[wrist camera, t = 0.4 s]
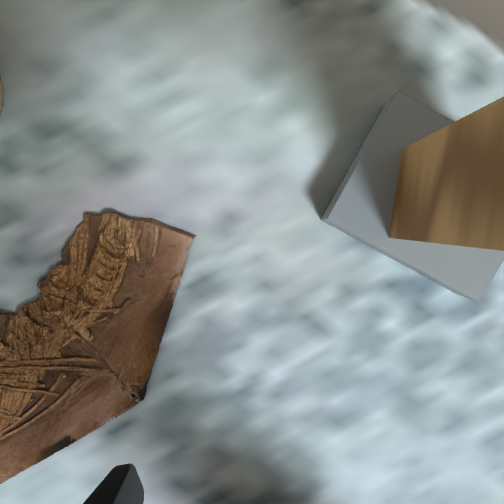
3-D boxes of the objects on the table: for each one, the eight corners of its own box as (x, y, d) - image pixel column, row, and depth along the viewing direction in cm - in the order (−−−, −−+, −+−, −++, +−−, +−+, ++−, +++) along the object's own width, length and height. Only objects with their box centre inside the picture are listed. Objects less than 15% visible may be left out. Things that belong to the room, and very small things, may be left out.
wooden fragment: (129, 170, 21) (122, 167, 20) (251, 289, 22) (251, 293, 21) (-120, 438, 23) (-138, 449, 22) (-2, 541, 24) (-13, 556, 23)
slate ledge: (525, 182, 21) (554, 178, 19) (457, 294, 21) (478, 301, 19) (385, 103, 20) (398, 90, 18) (320, 219, 21) (327, 219, 19)
